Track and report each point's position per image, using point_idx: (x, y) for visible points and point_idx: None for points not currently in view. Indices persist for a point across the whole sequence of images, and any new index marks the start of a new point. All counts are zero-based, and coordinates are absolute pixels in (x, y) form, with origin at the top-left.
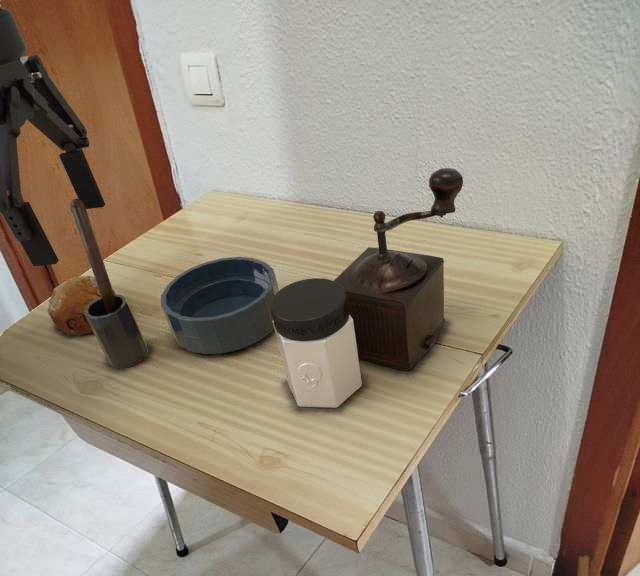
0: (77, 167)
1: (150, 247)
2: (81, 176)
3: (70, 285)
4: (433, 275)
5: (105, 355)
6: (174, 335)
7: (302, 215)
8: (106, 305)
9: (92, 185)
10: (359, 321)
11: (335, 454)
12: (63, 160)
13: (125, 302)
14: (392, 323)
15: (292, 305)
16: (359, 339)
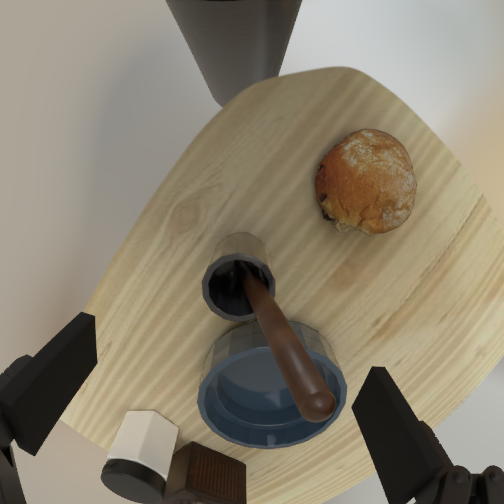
0: (393, 464)
1: (487, 250)
2: (385, 447)
3: (379, 183)
4: None
5: (225, 239)
6: (240, 331)
7: (443, 408)
8: (246, 287)
9: (367, 441)
10: (173, 477)
11: (87, 415)
12: (417, 463)
13: (237, 321)
14: None
15: (120, 482)
16: (177, 464)
